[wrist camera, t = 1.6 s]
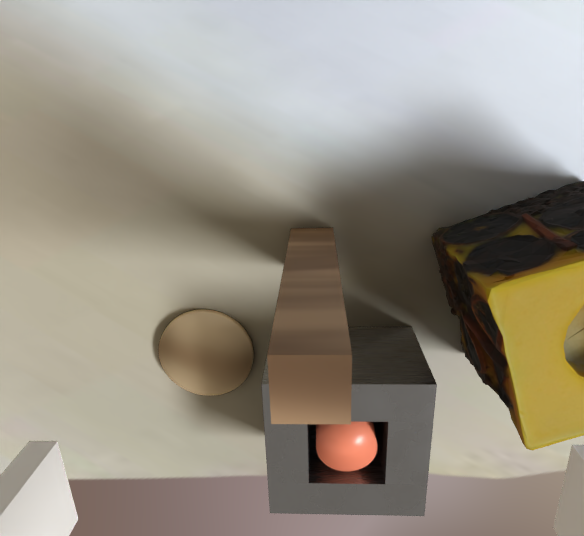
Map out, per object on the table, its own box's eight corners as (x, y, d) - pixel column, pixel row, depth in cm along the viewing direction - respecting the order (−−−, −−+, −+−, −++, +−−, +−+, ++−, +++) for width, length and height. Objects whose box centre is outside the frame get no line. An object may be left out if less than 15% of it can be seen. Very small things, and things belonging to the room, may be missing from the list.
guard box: (272, 327, 32) (261, 384, 26) (411, 326, 32) (436, 384, 25) (278, 438, 36) (269, 513, 29) (403, 439, 35) (424, 516, 29)
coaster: (155, 309, 32) (152, 313, 32) (250, 308, 32) (249, 312, 31) (167, 390, 35) (164, 395, 34) (256, 391, 34) (255, 395, 34)
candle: (463, 355, 33) (523, 457, 23) (425, 231, 29) (476, 290, 20) (609, 312, 31) (738, 403, 21) (585, 174, 28) (723, 211, 18)
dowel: (290, 228, 30) (266, 354, 15) (333, 227, 30) (352, 354, 15) (292, 267, 31) (271, 423, 16) (333, 267, 31) (350, 424, 16)
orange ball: (315, 383, 31) (315, 422, 27) (370, 383, 31) (378, 422, 27) (316, 428, 32) (316, 471, 28) (369, 428, 32) (376, 471, 28)
